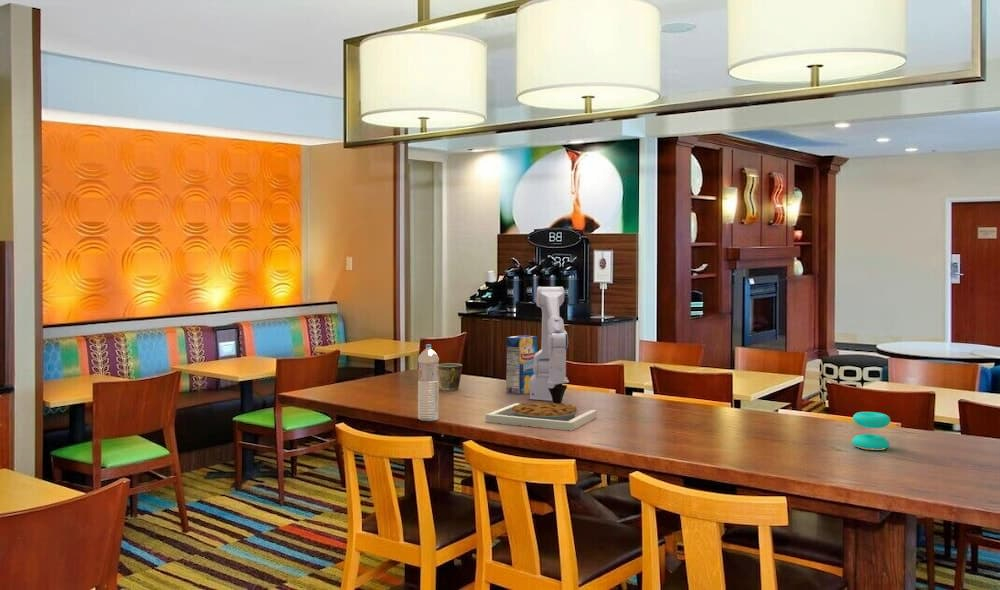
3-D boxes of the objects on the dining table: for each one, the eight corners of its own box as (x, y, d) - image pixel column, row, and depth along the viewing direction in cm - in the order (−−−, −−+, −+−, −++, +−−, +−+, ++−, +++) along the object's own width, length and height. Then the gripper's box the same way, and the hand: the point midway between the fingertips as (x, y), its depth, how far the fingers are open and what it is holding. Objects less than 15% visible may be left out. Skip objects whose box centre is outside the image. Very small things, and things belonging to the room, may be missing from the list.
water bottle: (435, 421, 294) (435, 346, 292) (415, 420, 295) (415, 345, 294) (440, 418, 301) (441, 343, 299) (421, 417, 302) (421, 343, 301)
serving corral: (485, 422, 294) (485, 414, 294) (515, 410, 316) (515, 403, 316) (571, 430, 281) (571, 422, 281) (596, 417, 303) (596, 410, 303)
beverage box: (506, 392, 354) (506, 337, 352) (523, 389, 362) (524, 335, 361) (519, 394, 349) (519, 338, 348) (537, 391, 357) (537, 336, 356)
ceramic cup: (434, 388, 363) (435, 363, 363) (458, 387, 366) (458, 362, 366) (442, 393, 351) (442, 367, 351) (467, 392, 354) (467, 367, 354)
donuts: (874, 410, 266) (898, 416, 256) (873, 443, 267) (897, 451, 257) (845, 411, 263) (868, 418, 254) (844, 445, 264) (867, 452, 254)
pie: (590, 420, 300) (590, 405, 300) (546, 429, 285) (546, 413, 285) (542, 411, 316) (542, 397, 316) (498, 419, 300) (498, 404, 300)
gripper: (560, 370, 302) (560, 410, 303) (575, 365, 315) (575, 403, 316) (541, 369, 305) (541, 408, 306) (557, 364, 318) (556, 402, 319)
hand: (557, 406), depth 311 cm, fingers closed
